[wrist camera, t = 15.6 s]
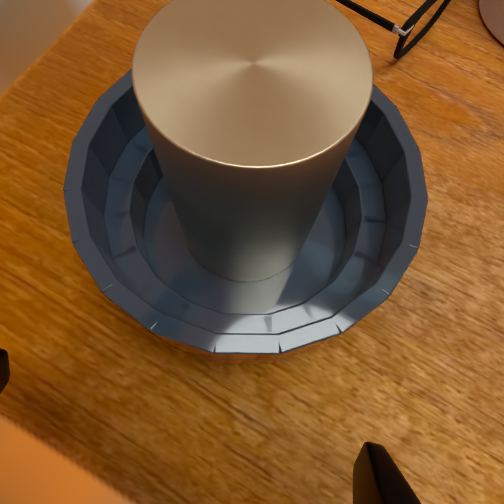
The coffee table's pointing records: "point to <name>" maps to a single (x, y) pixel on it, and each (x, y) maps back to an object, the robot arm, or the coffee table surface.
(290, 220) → the tea tin
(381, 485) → the robot arm
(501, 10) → the mug
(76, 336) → the coffee table surface
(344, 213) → the bowl
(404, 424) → the coffee table surface
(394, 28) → the eyeglasses
